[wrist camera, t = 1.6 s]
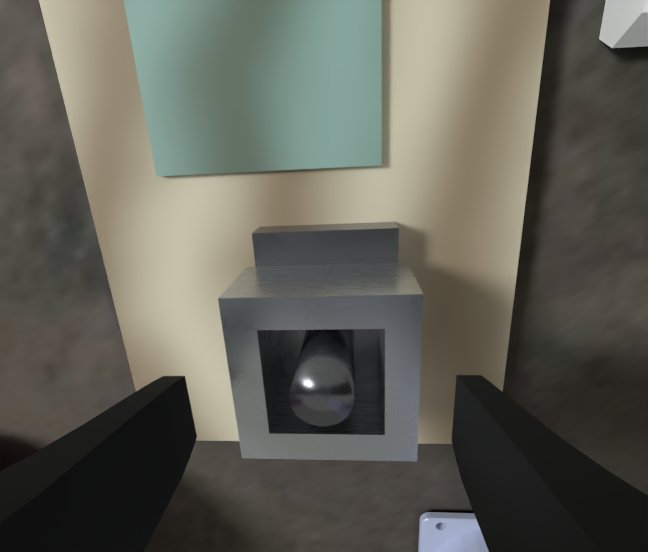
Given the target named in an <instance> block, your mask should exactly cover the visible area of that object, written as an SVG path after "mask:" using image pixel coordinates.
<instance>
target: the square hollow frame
mask: <svg viewBox="0 0 648 552" xmlns="http://www.w3.org/2000/svg"><path fill="white" fill-rule="evenodd" d="M218 303H219V309H220V316H221V322H222V329H223V336H224V342H225V349H226V355H227V362H228V369H229V375H230V382H231V388H232V395H233V402H234V408H235V415H236V422H237V428H238V435H239V441H240V448H241V455H242V458H261V459H316V460H370V461H417V450H418V423H419V397H420V370H421V344H422V317H423V293H422V291H421V289H420V287H419V285H418V283H417V281H416V279H415V277H414V275H413V273H412V271H411V269H410V267H409V265H408V263H407V262H405V263H368V264H331V265H294V266H257V267H246V269H245V270H244V271H243V272H242V273H241V274H240V275H239V276H238V277H237V278H236V279H235V280H234V281H233V283H232V284H231V285H230V286H229V287H228V288H227V289H226V290H225V291H224V292H223V293H222V294H221V295H220V297H219V298H218ZM329 329H378V378H354V405H353V409H352V411H351V413H350V414H349V416H348V417H347V418H346V419H344V420H343V421H342V422H340V423H338V424H335V425H331V426H316V425H312V424H309V423H307V422H305V421H303V420H302V419H300V418H299V417H298V416H297V415H296V414H295V412H294V411H293V409H292V407H291V405H290V400H289V395H290V390H291V386H292V382H293V378H286V377H285V366H284V356H283V345H282V335H281V330H329Z"/></svg>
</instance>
